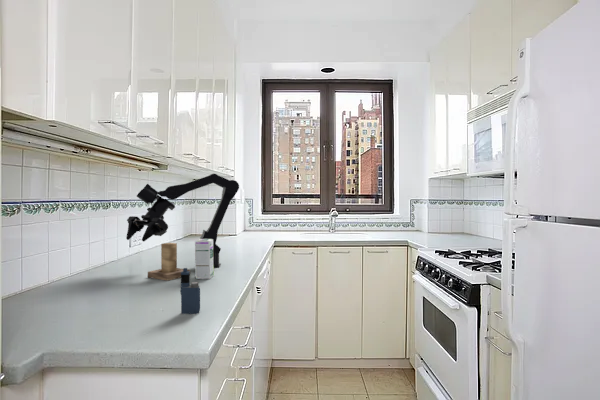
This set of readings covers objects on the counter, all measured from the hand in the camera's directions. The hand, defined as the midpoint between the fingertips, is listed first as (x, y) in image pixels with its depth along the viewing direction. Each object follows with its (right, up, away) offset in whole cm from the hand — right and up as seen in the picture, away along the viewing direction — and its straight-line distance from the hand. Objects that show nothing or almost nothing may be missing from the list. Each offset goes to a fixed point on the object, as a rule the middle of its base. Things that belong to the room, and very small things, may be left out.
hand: (134, 240), depth 156 cm
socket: (+14, -14, -2) cm, 20 cm away
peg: (+14, -13, -2) cm, 19 cm away
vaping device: (+35, -15, -48) cm, 61 cm away
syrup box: (+28, -14, -4) cm, 32 cm away
